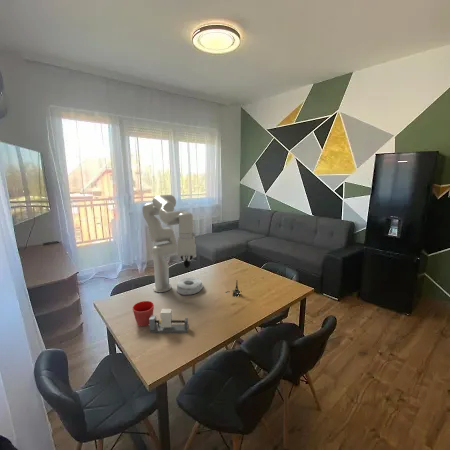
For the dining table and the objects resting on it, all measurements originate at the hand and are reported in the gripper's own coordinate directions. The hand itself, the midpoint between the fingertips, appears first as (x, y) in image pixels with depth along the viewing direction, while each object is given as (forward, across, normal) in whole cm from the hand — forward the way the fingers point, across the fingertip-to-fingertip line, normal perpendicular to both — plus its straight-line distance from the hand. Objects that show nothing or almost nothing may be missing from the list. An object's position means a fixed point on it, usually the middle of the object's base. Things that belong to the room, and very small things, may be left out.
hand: (187, 266), depth 138 cm
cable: (+28, +3, -27) cm, 38 cm away
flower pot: (+27, +22, +12) cm, 37 cm away
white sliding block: (+24, +8, +17) cm, 31 cm away
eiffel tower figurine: (+28, -30, -20) cm, 45 cm away
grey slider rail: (+27, +7, +18) cm, 33 cm away
